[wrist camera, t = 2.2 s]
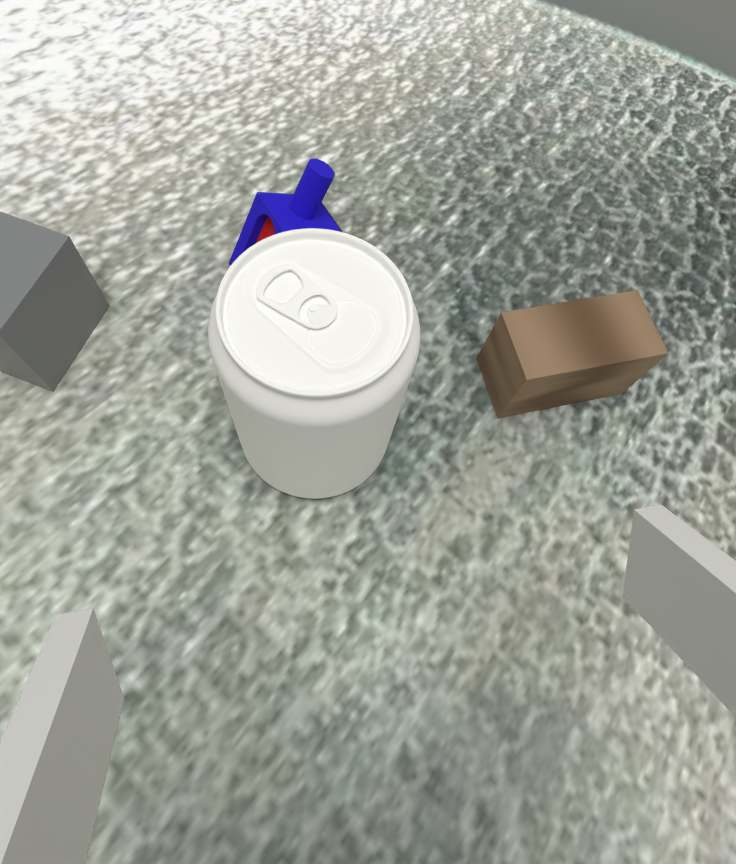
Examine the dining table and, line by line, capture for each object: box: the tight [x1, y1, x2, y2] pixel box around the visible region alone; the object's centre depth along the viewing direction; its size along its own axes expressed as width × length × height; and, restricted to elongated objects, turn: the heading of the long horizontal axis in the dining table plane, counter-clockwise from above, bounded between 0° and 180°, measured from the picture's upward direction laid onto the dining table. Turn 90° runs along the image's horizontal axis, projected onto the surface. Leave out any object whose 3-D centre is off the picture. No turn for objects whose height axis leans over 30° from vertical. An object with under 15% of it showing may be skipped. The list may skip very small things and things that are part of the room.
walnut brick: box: [477, 290, 668, 418], centre depth 32 cm, size 8×4×5 cm, turn 104°
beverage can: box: [208, 228, 420, 499], centre depth 26 cm, size 8×8×12 cm
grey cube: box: [0, 212, 109, 391], centre depth 30 cm, size 6×6×6 cm
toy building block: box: [229, 159, 342, 266], centre depth 33 cm, size 4×4×8 cm
